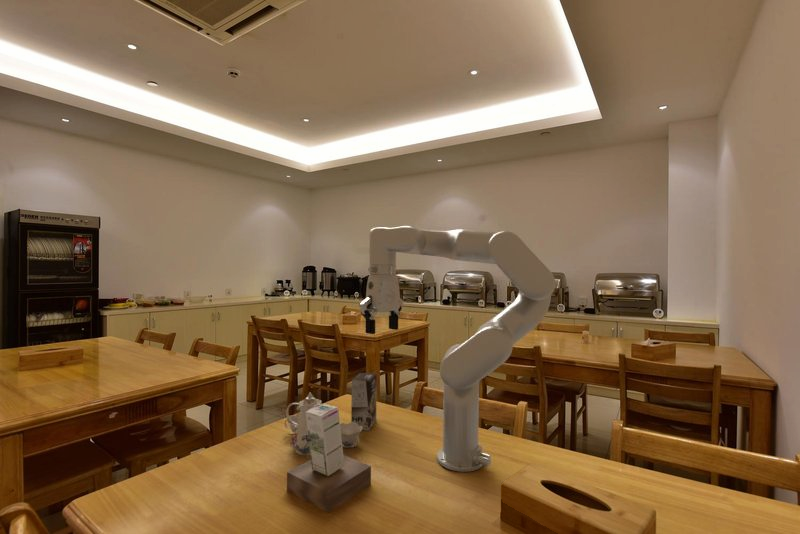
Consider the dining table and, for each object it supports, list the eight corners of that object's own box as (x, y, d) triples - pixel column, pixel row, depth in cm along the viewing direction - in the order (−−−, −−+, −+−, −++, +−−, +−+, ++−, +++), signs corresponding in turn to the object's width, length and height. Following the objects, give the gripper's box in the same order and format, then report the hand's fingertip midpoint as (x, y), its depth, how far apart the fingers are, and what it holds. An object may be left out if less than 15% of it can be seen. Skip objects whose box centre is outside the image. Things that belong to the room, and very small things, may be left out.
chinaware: (370, 446, 120) (373, 390, 122) (344, 467, 105) (347, 402, 106) (292, 432, 130) (295, 380, 131) (257, 449, 114) (262, 390, 116)
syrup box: (345, 465, 95) (339, 405, 95) (327, 477, 91) (320, 415, 90) (329, 459, 99) (323, 402, 98) (310, 471, 94) (304, 411, 94)
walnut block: (370, 486, 97) (370, 466, 97) (328, 515, 85) (328, 492, 85) (330, 468, 105) (330, 449, 105) (286, 493, 94) (287, 471, 94)
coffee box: (369, 431, 127) (370, 380, 127) (350, 429, 128) (350, 379, 128) (377, 420, 136) (377, 373, 136) (359, 418, 137) (359, 371, 137)
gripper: (370, 271, 104) (370, 337, 104) (411, 271, 117) (411, 329, 117) (351, 271, 109) (350, 333, 109) (392, 270, 122) (392, 326, 122)
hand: (382, 331), depth 113 cm, fingers open, 9 cm apart
